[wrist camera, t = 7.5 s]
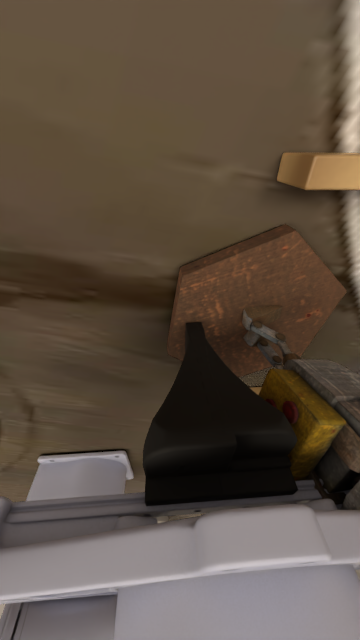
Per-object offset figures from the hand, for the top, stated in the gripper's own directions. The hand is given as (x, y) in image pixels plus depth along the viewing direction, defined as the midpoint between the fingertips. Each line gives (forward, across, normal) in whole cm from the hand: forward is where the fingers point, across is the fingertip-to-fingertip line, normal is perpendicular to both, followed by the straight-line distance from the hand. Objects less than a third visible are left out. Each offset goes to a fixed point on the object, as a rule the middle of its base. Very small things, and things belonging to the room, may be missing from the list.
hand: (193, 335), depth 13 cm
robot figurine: (+2, -3, 0) cm, 4 cm away
